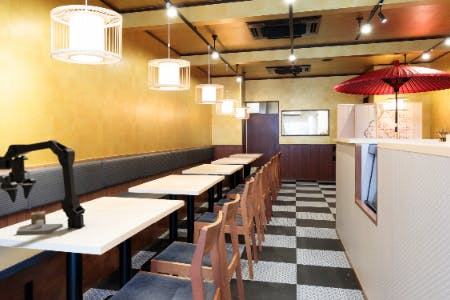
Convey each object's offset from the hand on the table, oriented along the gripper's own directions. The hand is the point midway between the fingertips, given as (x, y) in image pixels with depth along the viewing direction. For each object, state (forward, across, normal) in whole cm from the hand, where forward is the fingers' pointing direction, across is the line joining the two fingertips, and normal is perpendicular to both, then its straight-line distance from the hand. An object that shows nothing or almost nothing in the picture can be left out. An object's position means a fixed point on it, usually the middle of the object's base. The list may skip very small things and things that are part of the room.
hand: (20, 200), depth 170 cm
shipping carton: (+14, -8, +4) cm, 17 cm away
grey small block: (+13, +4, +12) cm, 18 cm away
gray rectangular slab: (+14, +4, +12) cm, 19 cm away
